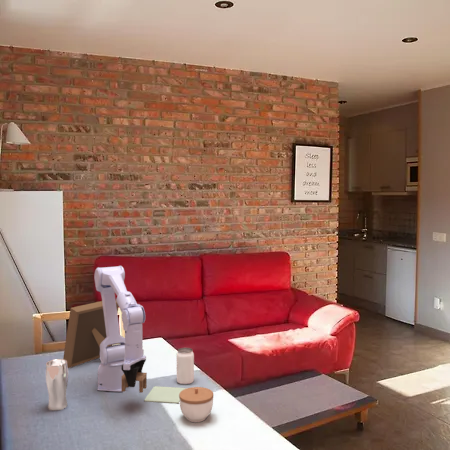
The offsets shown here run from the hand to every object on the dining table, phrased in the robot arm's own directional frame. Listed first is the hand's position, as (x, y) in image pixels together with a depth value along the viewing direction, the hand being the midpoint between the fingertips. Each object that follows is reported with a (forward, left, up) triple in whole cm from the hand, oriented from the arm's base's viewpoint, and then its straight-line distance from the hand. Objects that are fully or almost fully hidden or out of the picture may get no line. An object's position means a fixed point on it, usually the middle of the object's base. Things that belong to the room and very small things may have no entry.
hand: (134, 383), depth 155 cm
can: (+12, +23, -8) cm, 27 cm away
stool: (0, 0, -2) cm, 2 cm away
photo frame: (-30, +38, -8) cm, 49 cm away
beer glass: (-25, -4, -8) cm, 26 cm away
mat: (+8, +10, -8) cm, 15 cm away
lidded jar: (+22, -5, -8) cm, 24 cm away
